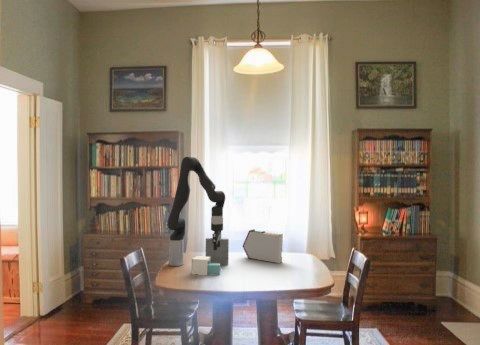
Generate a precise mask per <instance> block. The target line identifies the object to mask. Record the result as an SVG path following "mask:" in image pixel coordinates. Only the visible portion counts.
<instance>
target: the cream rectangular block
mask: <svg viewBox="0 0 480 345" xmlns="http://www.w3.org/2000/svg"><path fill="white" fill-rule="evenodd" d="M207 263H210V257H206V255H203V256H202V255H201V256H200V255H195V256H194V257H192V258H191V275H195V274H198V276H208V275H207Z"/></svg>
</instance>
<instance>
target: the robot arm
mask: <svg viewBox="0 0 480 345" xmlns="http://www.w3.org/2000/svg"><path fill="white" fill-rule="evenodd" d="M179 169H180V170H179V175H178V176H179V178H178V181H177V186H176V190H175V194H174V200H173V203H172V207H171V211H170V213H169V216H168V219H167V227H168V229H169V230H170V231H173V232H172V233H171V234H170V236H169V251H168V266H172V267H178V266H179V267H180V266H183V265H184V238H185V234H186V220H185V218H184V216H183V215H181V212H182V210H183V209H184V207H185V206H186V204H187V203H188V201H189V199H190V194H191V187H190V186H191V185H190V183H189V175H190V172H194V173H195V174H196V175H197V177H198V181H199V184H200V186H201V188H203V190H204V191H205V192H206V195H207V198H208V200H209V201H210V202H212V203H215V204H214V205H212V206H211V216H210V231H212V232H213V233H212V235H211V236H212V237H211V238H212V244H214V245H213V250H217V247H220V241H221V239H222V231H223V230H224V217H223V212H224V210H223V209H224V205H225V201H226V195H225V194H226V193H225V192H224V191H222V190H215V189H216V184H214V181H213V180H212V179H211V178H210V177H209V176H208V174H207V172H206V170H205V169H204V167H203V165H202V164H201V161H200V160H199V159H198V158H197V157H193V156H185V157H183V159H182V160H181V162H180V168H179ZM214 241H216V242H214Z"/></svg>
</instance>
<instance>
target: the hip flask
mask: <svg viewBox="0 0 480 345" xmlns="http://www.w3.org/2000/svg"><path fill="white" fill-rule="evenodd" d="M214 242H216V241H214ZM213 245H214V244H212V237H210V238H209V237H207V238H205V257H210V263H220V266H229V247H230V246H229V238H221V241H220V247H217V250H213Z"/></svg>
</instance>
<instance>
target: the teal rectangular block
mask: <svg viewBox="0 0 480 345" xmlns="http://www.w3.org/2000/svg"><path fill="white" fill-rule="evenodd" d="M207 274H214V275H213V276H215V275H218V276H220V275H221V265H220V263H207Z"/></svg>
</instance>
